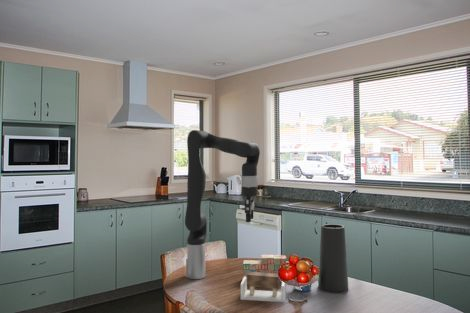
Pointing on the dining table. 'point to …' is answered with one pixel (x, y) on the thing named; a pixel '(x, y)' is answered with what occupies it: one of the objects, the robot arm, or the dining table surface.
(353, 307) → the dining table surface
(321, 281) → the vase
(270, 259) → the stack of blocks
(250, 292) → the peg stand
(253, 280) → the plank
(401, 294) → the dining table surface
